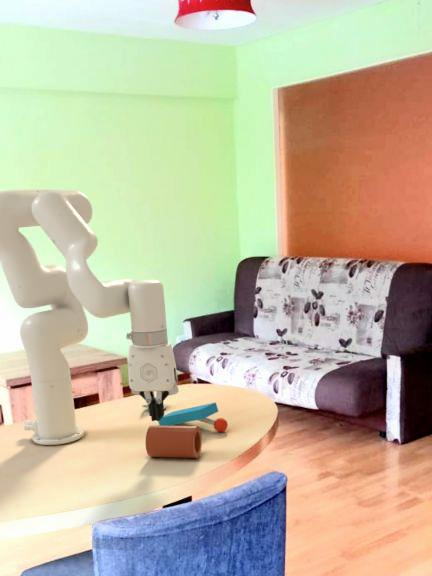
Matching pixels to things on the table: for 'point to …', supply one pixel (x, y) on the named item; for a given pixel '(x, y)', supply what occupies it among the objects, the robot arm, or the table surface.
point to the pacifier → (148, 406)
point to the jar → (173, 441)
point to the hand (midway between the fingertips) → (157, 419)
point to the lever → (195, 416)
